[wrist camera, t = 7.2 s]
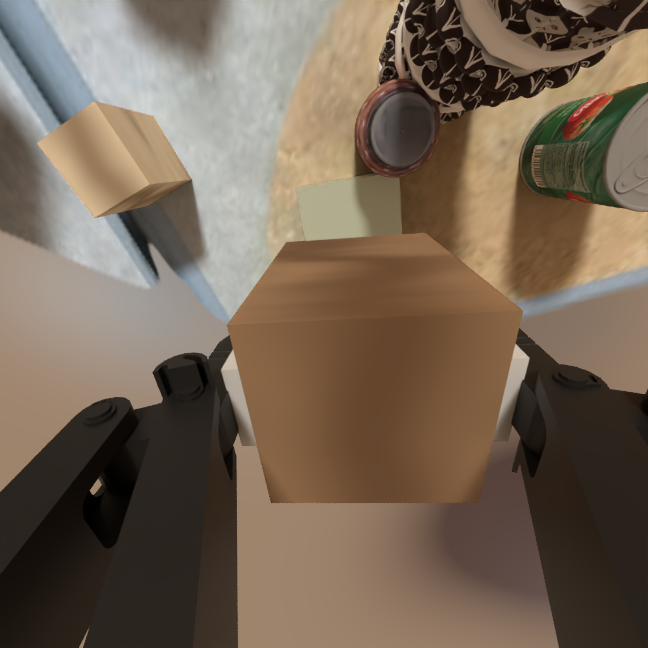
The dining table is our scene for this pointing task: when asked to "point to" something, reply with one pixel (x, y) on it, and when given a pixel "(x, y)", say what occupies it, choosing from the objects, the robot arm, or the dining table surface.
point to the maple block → (114, 159)
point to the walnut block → (373, 371)
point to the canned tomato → (592, 150)
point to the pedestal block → (351, 207)
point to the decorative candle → (500, 46)
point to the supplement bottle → (397, 128)
